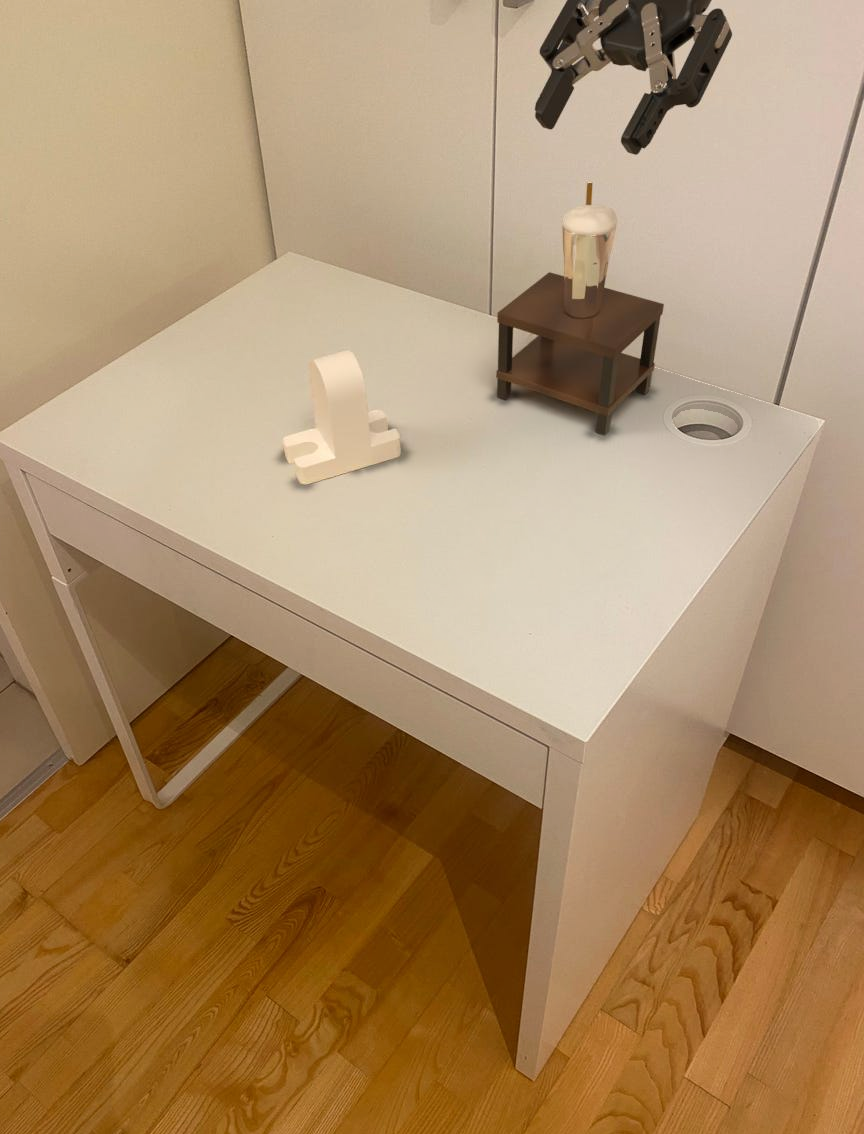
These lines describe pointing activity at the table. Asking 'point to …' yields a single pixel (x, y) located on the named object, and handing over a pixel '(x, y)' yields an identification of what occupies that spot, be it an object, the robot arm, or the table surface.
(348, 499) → the table surface
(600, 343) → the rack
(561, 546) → the table surface
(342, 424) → the cream mounting bracket
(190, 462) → the table surface
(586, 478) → the table surface
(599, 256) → the milkshake
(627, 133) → the robot arm
